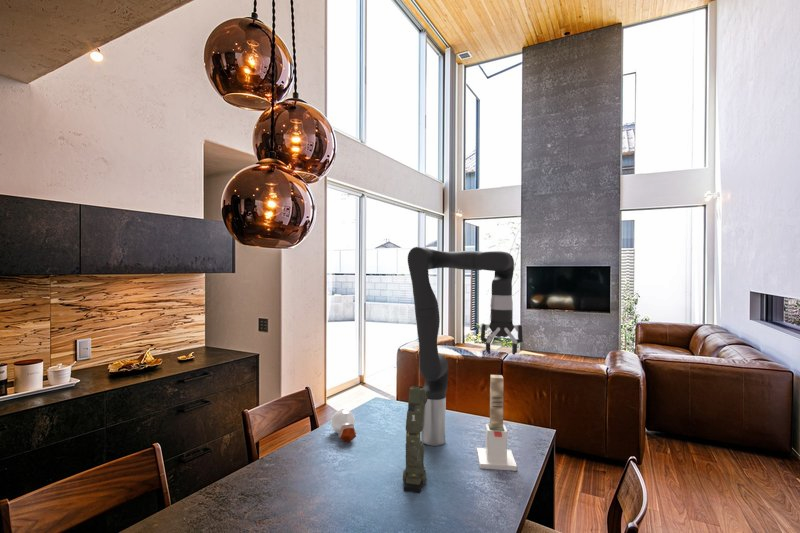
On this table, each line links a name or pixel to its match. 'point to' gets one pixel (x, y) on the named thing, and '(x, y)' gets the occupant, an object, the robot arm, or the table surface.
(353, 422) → the potion bottle
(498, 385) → the post
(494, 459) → the sleeve stand
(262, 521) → the table surface
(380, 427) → the table surface
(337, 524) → the table surface
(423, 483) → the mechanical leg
